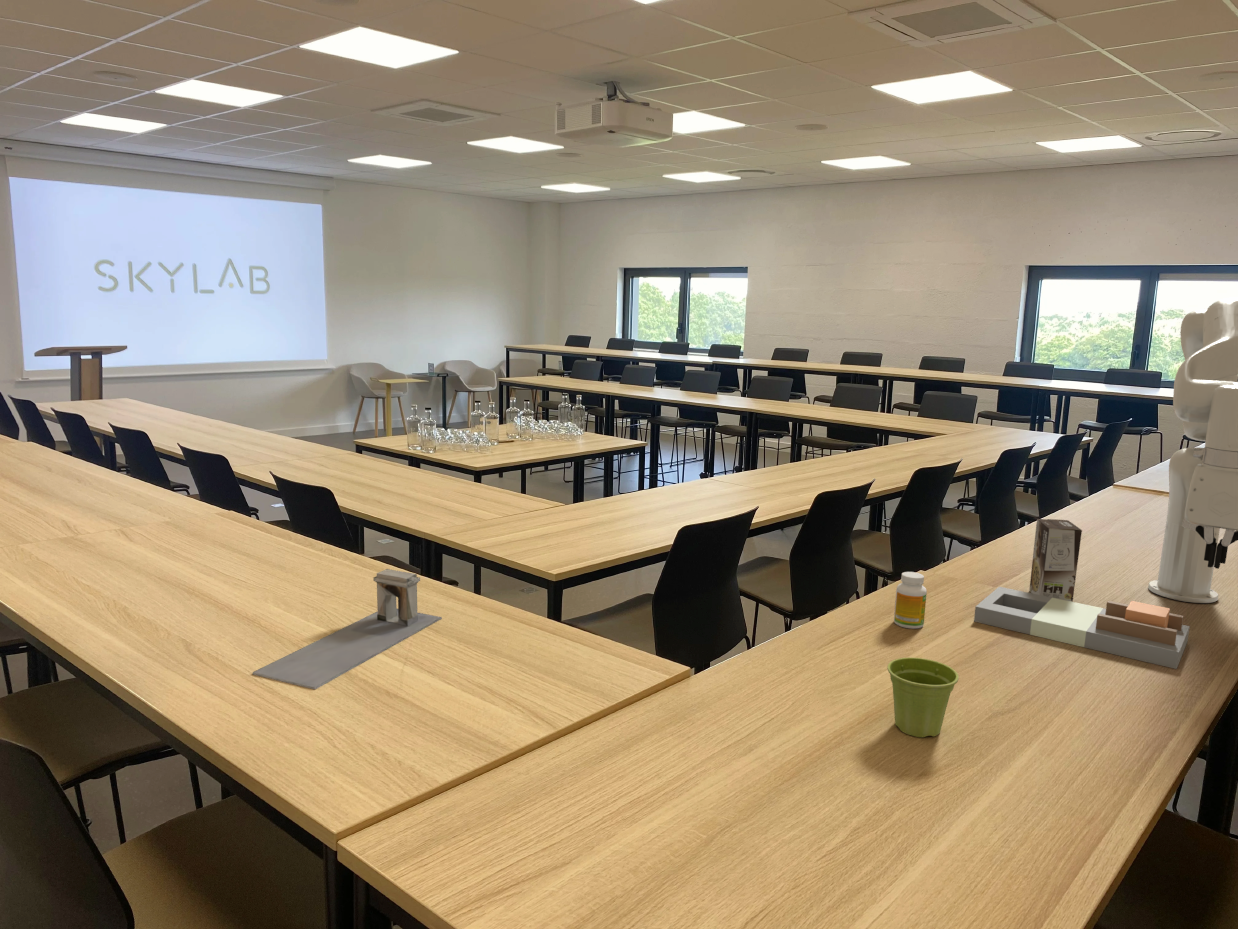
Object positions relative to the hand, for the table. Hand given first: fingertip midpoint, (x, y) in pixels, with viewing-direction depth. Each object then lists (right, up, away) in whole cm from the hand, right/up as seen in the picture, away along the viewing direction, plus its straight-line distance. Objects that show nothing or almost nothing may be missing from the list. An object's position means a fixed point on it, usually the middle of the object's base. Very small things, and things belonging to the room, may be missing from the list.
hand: (1213, 566), depth 146 cm
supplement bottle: (-46, -13, +16) cm, 51 cm away
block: (-7, -12, +8) cm, 16 cm away
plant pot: (-59, -20, -24) cm, 67 cm away
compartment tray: (-15, -14, +15) cm, 25 cm away
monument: (-146, -14, +1) cm, 147 cm away
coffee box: (-11, -11, +33) cm, 37 cm away
